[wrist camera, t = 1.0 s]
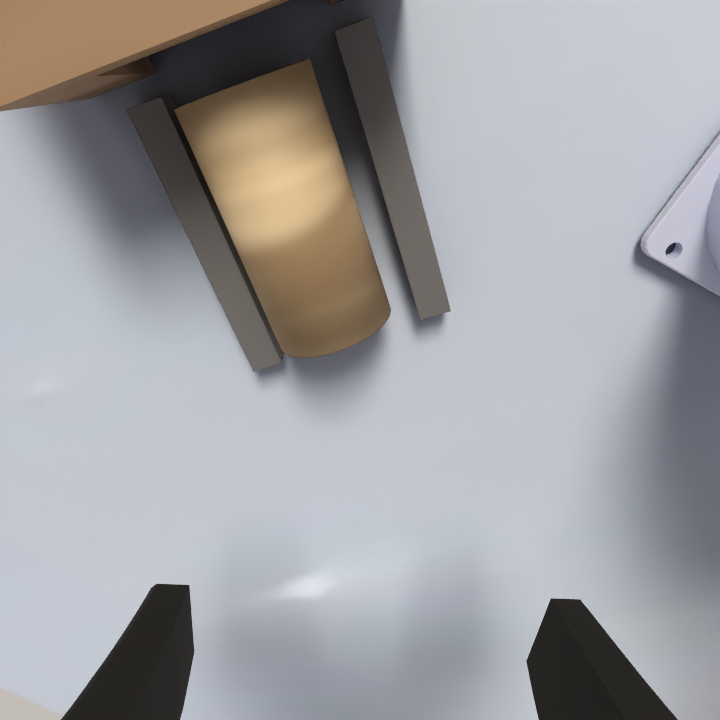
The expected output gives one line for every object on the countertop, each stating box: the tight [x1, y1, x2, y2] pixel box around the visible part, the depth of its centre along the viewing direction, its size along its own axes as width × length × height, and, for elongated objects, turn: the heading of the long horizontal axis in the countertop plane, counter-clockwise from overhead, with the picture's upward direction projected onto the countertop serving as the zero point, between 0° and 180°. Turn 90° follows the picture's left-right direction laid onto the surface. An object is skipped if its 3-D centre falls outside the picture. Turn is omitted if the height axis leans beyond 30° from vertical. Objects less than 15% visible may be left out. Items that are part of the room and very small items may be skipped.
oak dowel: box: [174, 59, 391, 358], centre depth 15 cm, size 7×4×4 cm, turn 18°
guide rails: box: [127, 17, 451, 371], centre depth 16 cm, size 8×7×1 cm
